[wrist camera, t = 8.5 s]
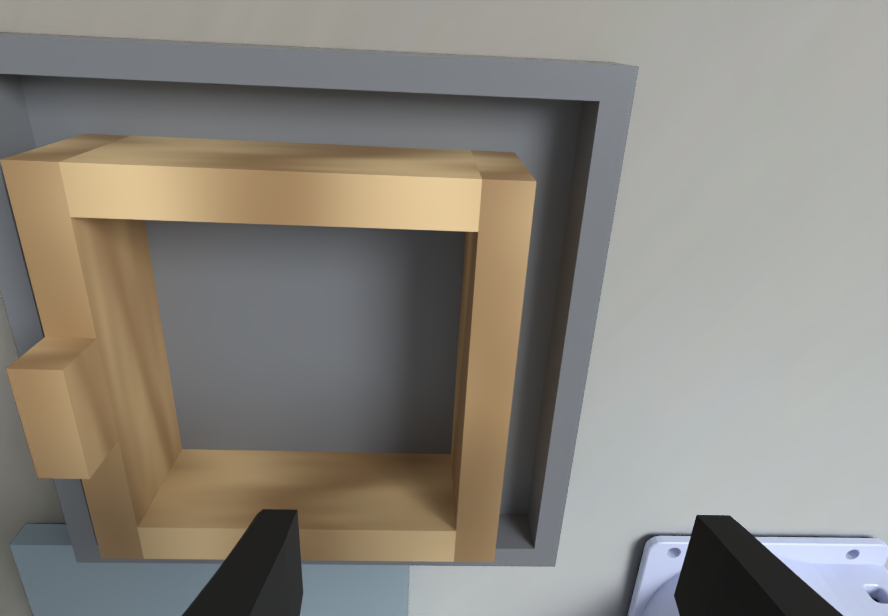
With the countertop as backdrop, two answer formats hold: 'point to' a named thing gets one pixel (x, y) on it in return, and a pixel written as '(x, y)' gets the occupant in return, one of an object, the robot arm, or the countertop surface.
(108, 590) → the stake base
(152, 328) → the wooden frame
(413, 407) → the tray
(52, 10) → the countertop surface
